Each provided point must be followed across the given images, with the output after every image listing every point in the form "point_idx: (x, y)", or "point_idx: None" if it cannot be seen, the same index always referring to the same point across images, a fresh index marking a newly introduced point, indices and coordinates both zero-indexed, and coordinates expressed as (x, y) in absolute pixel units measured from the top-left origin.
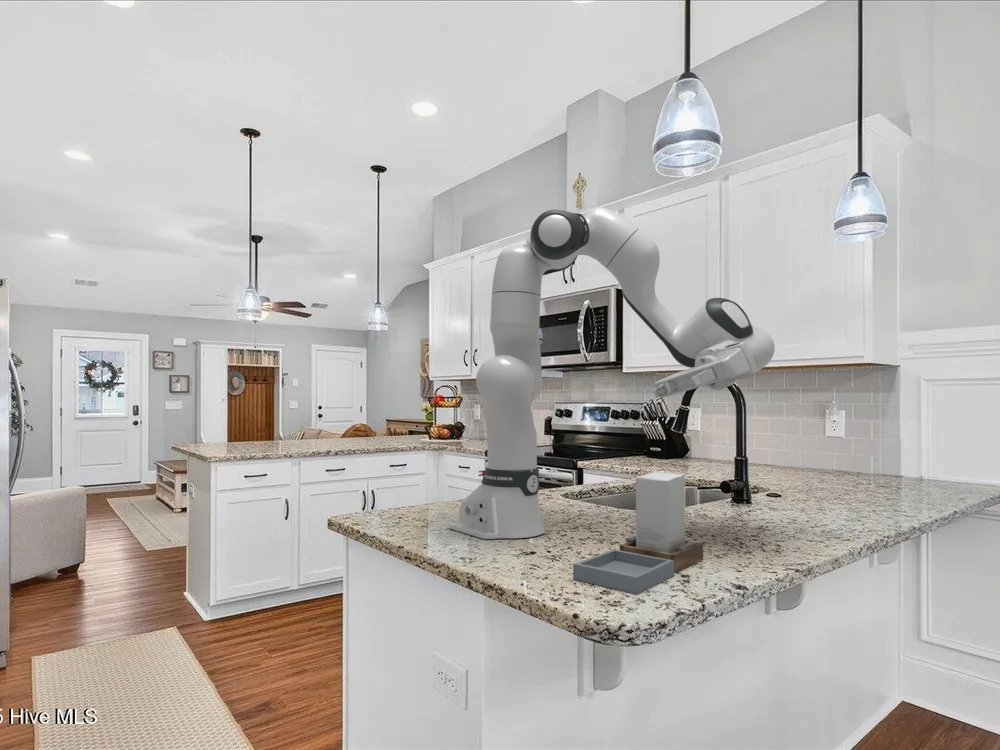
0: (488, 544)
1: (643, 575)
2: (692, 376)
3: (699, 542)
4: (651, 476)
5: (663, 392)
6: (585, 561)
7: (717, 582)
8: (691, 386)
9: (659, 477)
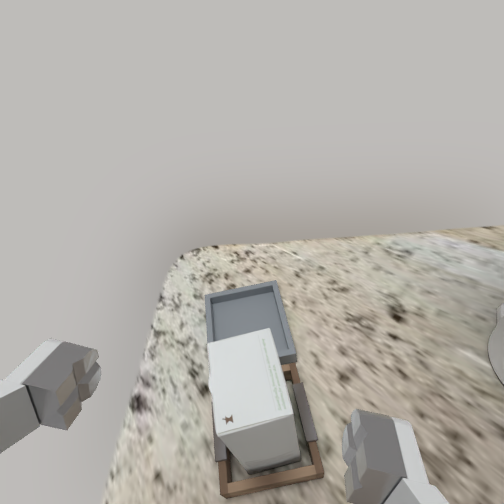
0: (467, 298)
1: (205, 306)
2: (59, 383)
3: (225, 490)
4: (248, 349)
5: (351, 463)
6: (274, 293)
7: (163, 398)
8: (95, 378)
9: (231, 352)
